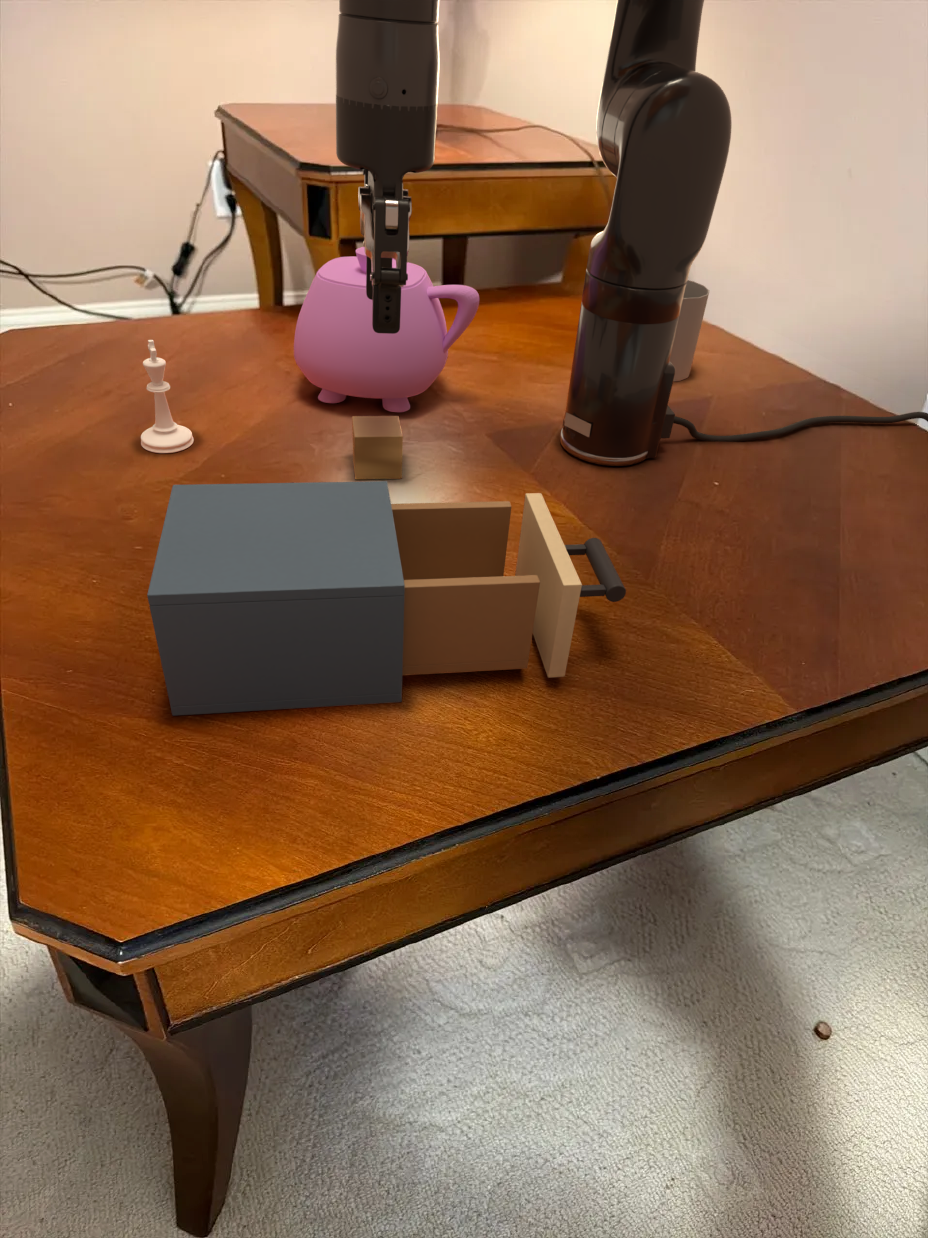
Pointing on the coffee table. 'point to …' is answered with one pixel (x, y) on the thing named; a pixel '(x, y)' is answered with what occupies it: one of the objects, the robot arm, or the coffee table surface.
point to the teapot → (375, 334)
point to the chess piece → (162, 412)
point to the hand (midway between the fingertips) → (382, 314)
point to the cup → (688, 328)
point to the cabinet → (278, 597)
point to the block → (377, 447)
